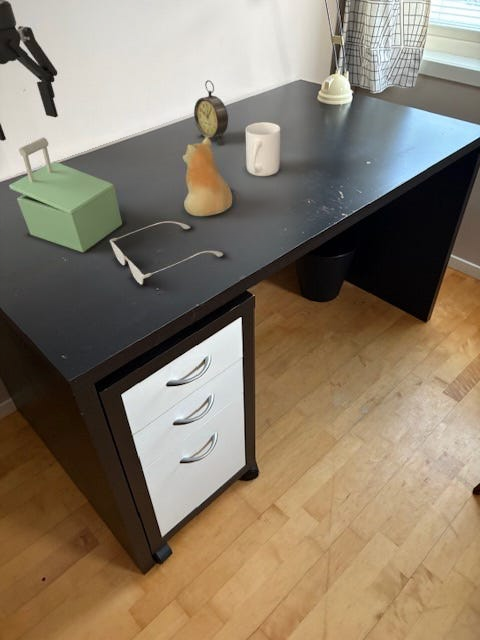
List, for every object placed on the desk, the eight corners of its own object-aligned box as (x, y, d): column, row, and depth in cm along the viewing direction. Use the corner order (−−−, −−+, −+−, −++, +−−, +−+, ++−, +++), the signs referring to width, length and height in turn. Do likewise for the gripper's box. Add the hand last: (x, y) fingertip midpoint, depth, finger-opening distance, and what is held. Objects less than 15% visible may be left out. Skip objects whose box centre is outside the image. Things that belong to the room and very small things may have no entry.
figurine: (178, 197, 115) (170, 135, 105) (228, 188, 117) (225, 127, 107) (190, 222, 106) (182, 157, 96) (243, 212, 109) (241, 147, 99)
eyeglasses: (111, 254, 98) (107, 238, 95) (187, 226, 105) (185, 209, 102) (145, 292, 88) (141, 274, 85) (226, 257, 95) (225, 240, 93)
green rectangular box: (30, 234, 105) (16, 198, 99) (71, 209, 113) (60, 173, 107) (83, 252, 99) (71, 214, 93) (122, 224, 107) (114, 187, 101)
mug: (237, 180, 120) (236, 138, 113) (252, 161, 129) (251, 120, 122) (270, 184, 118) (270, 142, 111) (283, 164, 126) (284, 123, 119)
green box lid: (10, 188, 98) (-2, 150, 92) (55, 164, 106) (47, 128, 100) (71, 214, 93) (63, 176, 87) (113, 187, 101) (108, 151, 95)
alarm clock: (195, 137, 143) (189, 78, 132) (209, 132, 146) (204, 74, 135) (218, 146, 137) (214, 86, 126) (232, 141, 139) (230, 82, 129)
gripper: (-65, 18, 72) (-12, 153, 87) (55, -9, 88) (84, 109, 102) (-95, 14, 75) (-39, 146, 90) (27, -11, 91) (59, 104, 105)
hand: (27, 127), depth 96 cm, fingers open, 13 cm apart
